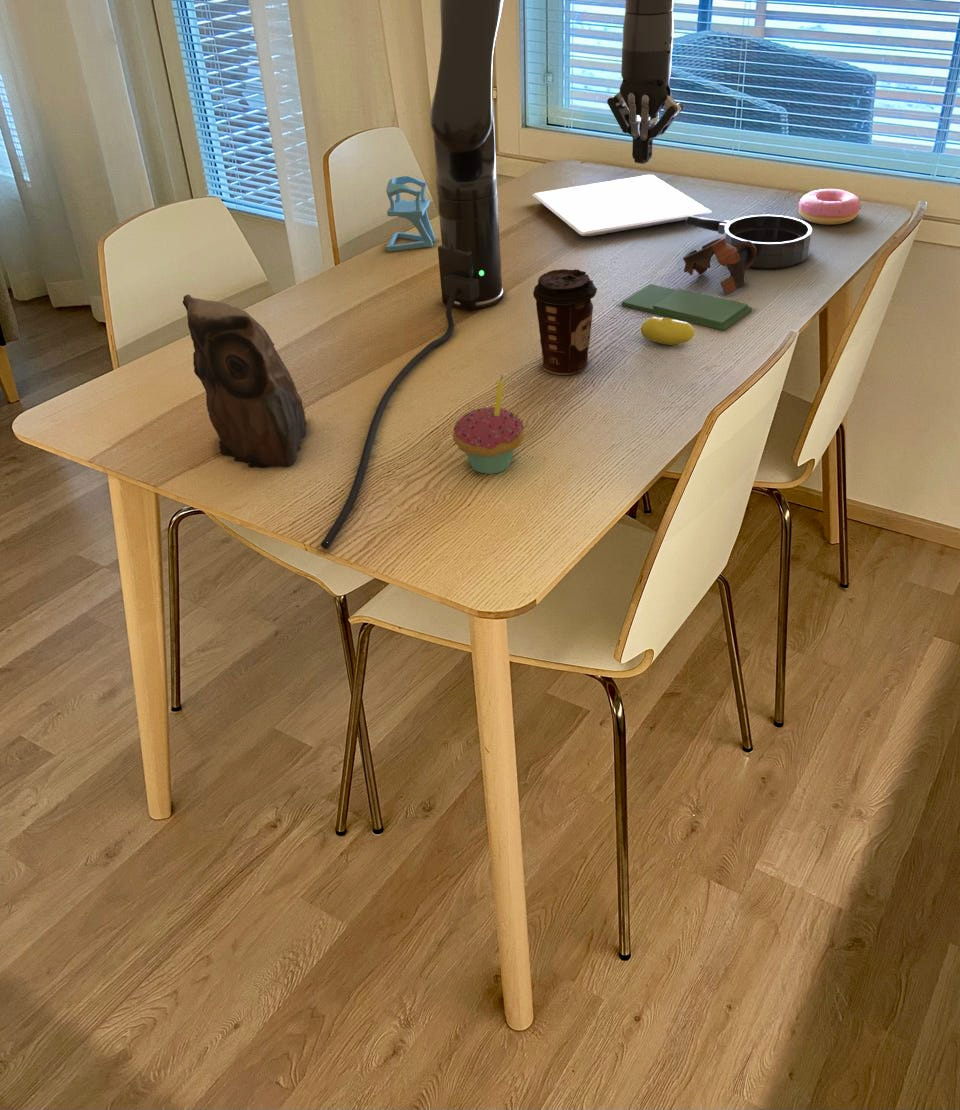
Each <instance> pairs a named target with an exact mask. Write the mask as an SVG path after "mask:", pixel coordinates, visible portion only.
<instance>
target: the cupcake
mask: <svg viewBox="0 0 960 1110" xmlns="http://www.w3.org/2000/svg"><path fill="white" fill-rule="evenodd" d="M503 379H504V374H501V376H500V379H499V380H497V386H496V395H495V403H494V406H488V407H486V406H484V407H483V408H477V409H473V410H471V411H470V412H467V413H465V414H463V415H462V416H461V418H460V419H458V420H457V421H456V423H455V424H454V427H453V431H452V439H453V441H454V443H455V445H456V446H457V447H458V449H459V451H461V452H464V453H465V454H466V456H467V458H468V460H469V462H470V465H471V467H472V469H473V470H474V471H476V472H478V473H481V474H485V475H486V474H487V475H490V474H492V475H493V474H498V473H501V472H504V471H506V470H507V469H508V468H509V467H510V465H511V461H512V458H513V455H514V452H515V449H517V448H518V447H519V446H521V444H522V442H523V440H524V437H525V428H524V422H523V420H522V419H521V418H519V416H517V415H516V414H515V413H514V412H512V411H508V410H507V409H505V408H502V397H503V390H504V380H503Z"/></svg>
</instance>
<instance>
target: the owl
mask: <svg viewBox="0 0 960 1110" xmlns="http://www.w3.org/2000/svg"><path fill="white" fill-rule="evenodd" d="M182 299H183V300H182V304H183V306H184V307H185V310H186V317H187V327H188V330H189V332H190V333H189V334H190V338H191V340H192V343H193V344H192V345H193V349H194V352H193V355H192V356H193V363H192V364H193V372H194V374H195V376H196V377H197V379H199V381H200V382H201V384H202V387H203V389H204V391H205V400H206V403H205V404H206V410H207V412H208V417H209V421H210V422H211V425H212V427H213V428H214V431H215V432H216V434H217V436H218V438H219V441H218V444H219V445H218V448H219V453H220V455H221V456H223V457H224V456H225V457H231V458H234V460H233V461H234V462H237V463H238V462H240V463H244V464H247V467H248V468H259V469H264V468H271V467H273V468H274V467H276V468H277V467H284V468H290V467H291V466H293V465H294V464H295V463H296V462H297V459H298V452H299V451H300V450H301V444H302V441H303V439H304V438H305V437H306V435H307V430H306V429H307V426H308V425H307V424H308V423H307V421H306V420H307V419H306V412H305V407H304V406H303V400H302V397H301V395H300V394H299V392H298V390H297V387H296V385H295V382H294V380H293V378H292V376H291V373H290V372H289V369H288V368H287V366H286V365H285V363H284V361H283V360H282V358H281V356H280V355H279V353H278V351H277V350H276V349H277V348H276V347H275V343H274V342H273V340H272V338H271V337H270V335H269V333H268V332H267V330H266V329H265V327H263V326H262V324H260V323H259V322H258V321H257V320H256V319H255V318H253V316H251V315H250V314H249V313H248V312H247V311H246V310H244V309H242V308H240V307H238V306H232V305H230V304H229V303H225V302H220V301H217V300H209V299H203V298H197V297H192V296H191V295H190V294H185V295H184V296H183V298H182Z"/></svg>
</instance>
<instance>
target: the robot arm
mask: <svg viewBox="0 0 960 1110" xmlns="http://www.w3.org/2000/svg"><path fill="white" fill-rule="evenodd" d="M503 4H504V0H439V9H440V31H441V32H440V34H441V35H440V37H441V38H440V40H441V42H440V56H439V64H438V72H437V76H436V85H435V89H434V94H433V97H432V101H431V106H430V110H429V111H430V112H429V123H430V128H431V131H432V133H433V142H434V143H433V144H434V155H435V182H436V193H437V203H438V204H437V205H438V216H439V227H440V228H439V229H440V238H441V239H440V240H441V244H439V245H438V246H437V257H438V266H439V267H438V268H439V279H440V288H441V289H440V290H441V291H440V292H441V300H442V304H444V305H446V308H445V315H446V320H447V330H446V332H445V333H444V334H443V335H442V336H441V337H439V338H436V339H435V340H433V341H431V342H429V344H427V345H426V346H425V347H424V348H422V349H421V350H420V352H418V353H417V354H416V355H415V356H413V358H412V359H411V360H409V362H407V364H406V365H404V367H403V368H402V369H401V370H400V372H399V373H398V374H397V375H396V376H395V377H394V379H393V380H392V382H391V383H390V384H389V386H388V388H387V389H386V390H385V392H384V394H383V396H382V398H381V399H380V401H379V403H378V405H377V408H376V410H375V412H374V415H373V417H372V419H371V422H370V425H369V429H368V432H367V435H366V439H365V443H364V446H363V449H362V453H361V456H360V460H359V464H358V467H357V470H356V474H355V477H354V480H353V483H352V486H351V488H350V491H349V494H348V496H347V498H346V501H345V503H344V505H343V507H342V509H341V511H340V513H339V514H338V516H337V518H336V519H335V520H334V523H333V524H332V526H331V527H330V529H329V530H328V532H327V533H326V535H325V537H323V540H322V541H321V543H320V545H321V548H323V549H325V550H327V549H329V548H330V546H331V544H332V542H333V541H334V540H335V538H336V536H337V535H338V533H339V532H340V530H341V528H342V527H343V525H344V523H345V522H346V520H347V518H348V517H349V515H350V513H351V511H352V509H353V507H354V504H355V503H356V500H357V498H358V496H359V492H360V490H361V486H362V483H363V481H364V478H365V474H366V470H367V467H368V464H369V460H370V455H371V451H372V448H373V445H374V441H375V437H376V433H377V430H378V426H379V424H380V421H381V419H382V416H383V413H384V411H385V408H386V406H387V404H388V402H389V400H390V399H391V397H392V395H393V394H394V392H395V390H396V389H397V387H398V386H399V385H400V383H401V382H402V381H403V380H404V378H405V377H406V376H407V375H408V374H409V372H410V371H412V370H413V368H414V367H416V366H417V365H418V363H419V362H421V361H422V360H423V359H424V358H425V357H426V356H427V355H428V354H430V353H431V352H432V351H433V350H434V349H436V348H437V347H439V346H441V345H443V344H444V343H446V342H447V341H449V340H450V338H451V337H452V336H453V333H454V330H455V321H454V315H453V309H454V307H455V308H459V309H462V310H466V311H469V312H472V311H474V310H477V309H482V308H487V307H490V306H493V305H496V304H498V303H499V302H501V301H502V299H503V298H504V289H503V280H502V279H503V278H502V262H501V261H502V260H501V259H502V258H501V241H500V218H499V202H498V176H497V174H498V173H497V172H498V171H497V154H496V136H495V135H496V134H495V133H496V132H495V111H494V103H493V98H492V97H493V84H492V83H493V61H494V51H495V50H494V49H495V44H496V38H497V33H498V30H499V24H500V21H501V16H502V9H503V6H504V5H503ZM624 5H625V7H624V8H625V12H624V18H623V19H624V20H623V26H622V40H621V41H622V43H621V44H622V45H621V70H620V75H621V78H622V81H621V84H620V86H619V91H618V92H617V93H616V94H615V95H614V96H611V97H608V98H607V100H606V103H607V105H608V107H609V109H610V111H611V113H612V115H613V116H614V119H615V121H616V122H617V124H618V126H619V128H620V129H621V132H623V134H628V135H630V136H631V138H632V149H631V150H632V152H631V156H632V159H634V163H635V164H640V165H645V164H647V163H649V161H650V160H651V159H652V157H653V146H654V145H653V144H654V138H657V137H659V136H661V135H663V134H665V133H666V132H667V130H668V129H669V128H670V126H671V125H672V124H673V122H674V121H675V120H676V118H677V117H678V116H679V114H680V113H681V112H682V111H683V109H684V105H683V103H681V102H677V101H675V99H674V98H673V97H672V89H671V86H670V78H671V74H672V59H673V45H674V0H625V4H624ZM661 111H662V112H663V115H662V116H661V117H660V113H661ZM659 117H660V118H659ZM327 542H328V543H327Z"/></svg>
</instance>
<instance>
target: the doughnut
mask: <svg viewBox="0 0 960 1110" xmlns="http://www.w3.org/2000/svg"><path fill="white" fill-rule="evenodd" d="M797 207H798V213H799V215H800V216H801V218H803V219H804V220H805V221H807V222H810V223H813V224H818V225H828V226H829V225H830V226H831V225H841V224H846V223H849V222H851V221H854V219H855V218H857V216H858V215H859V213H860V210H862V203H861V199H859V196H857V195H856V194H854V193H853V192H850V191H847V190H844V189H838V188H837V189H836V188H823V189H816V190H811V191H808V192H806V193H805V194H803V196H802V197H800V200H799V202H798V204H797Z"/></svg>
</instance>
